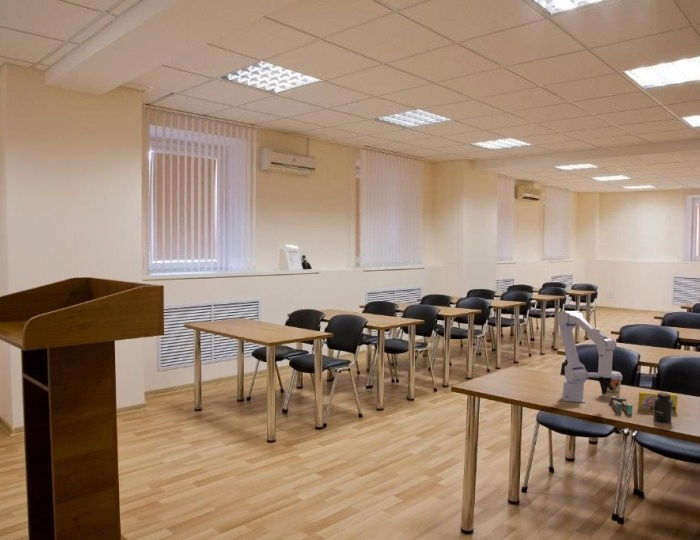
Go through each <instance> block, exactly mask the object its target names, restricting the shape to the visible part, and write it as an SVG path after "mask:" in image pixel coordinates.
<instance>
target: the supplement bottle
mask: <svg viewBox="0 0 700 540" xmlns="http://www.w3.org/2000/svg"><path fill="white" fill-rule="evenodd" d="M669 394H670V393H665V392H658V396H657V397H658V399H656V400H655V403H654V411H653V420H654V421H655V422H658V423H661V424H670V423H671V422H672V419H673V418H672V414H673V412H672V402H671V401H670V395H669Z"/></svg>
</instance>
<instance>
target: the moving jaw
mask: <svg viewBox="0 0 700 540" xmlns="http://www.w3.org/2000/svg"><path fill="white" fill-rule="evenodd" d="M611 406H612V408H613V409H614V411H615V413H616V414H617V413H618V415H622V413H623V412H622V411H623V408H622V403H620V402H618V401H615V400H613V401H612V405H611Z"/></svg>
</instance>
